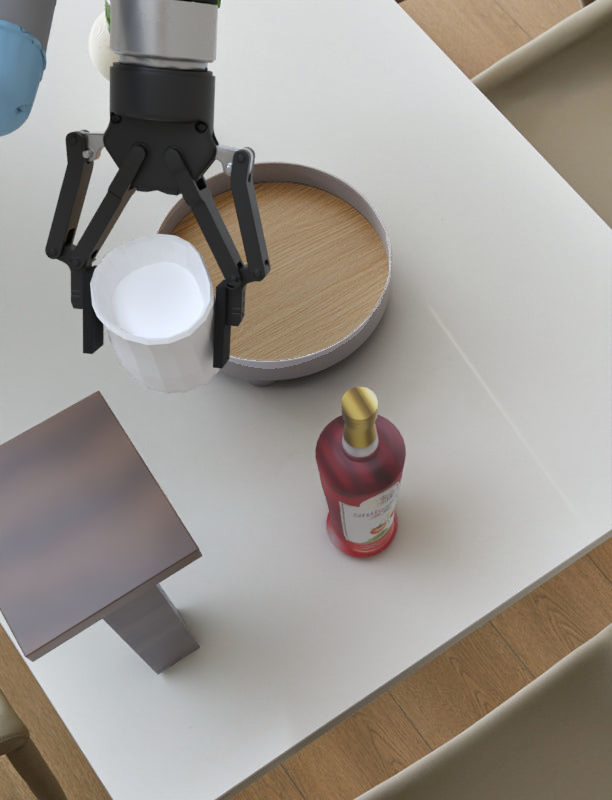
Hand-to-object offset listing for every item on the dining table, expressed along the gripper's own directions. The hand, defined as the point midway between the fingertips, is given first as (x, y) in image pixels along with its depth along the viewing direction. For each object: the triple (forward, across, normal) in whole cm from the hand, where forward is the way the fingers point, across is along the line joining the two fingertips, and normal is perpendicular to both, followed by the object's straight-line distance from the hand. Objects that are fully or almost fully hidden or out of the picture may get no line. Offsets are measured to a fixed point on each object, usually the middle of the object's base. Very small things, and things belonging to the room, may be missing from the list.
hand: (157, 355), depth 81 cm
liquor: (+19, -17, -12) cm, 29 cm away
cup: (+1, 0, -5) cm, 5 cm away
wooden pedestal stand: (+29, -1, -3) cm, 29 cm away
